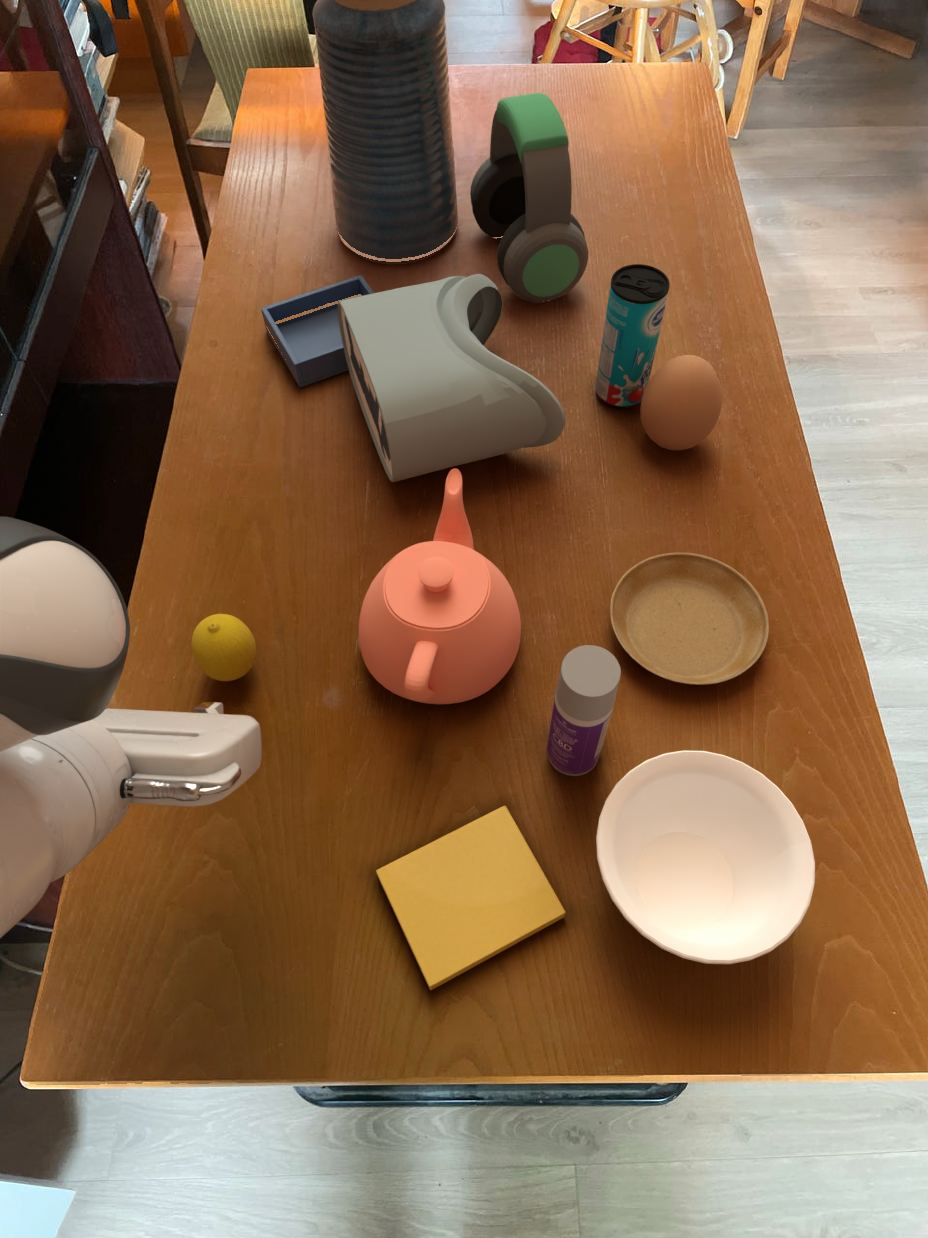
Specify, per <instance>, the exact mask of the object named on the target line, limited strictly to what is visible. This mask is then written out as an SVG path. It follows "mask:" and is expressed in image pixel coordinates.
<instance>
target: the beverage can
mask: <svg viewBox="0 0 928 1238" xmlns="http://www.w3.org/2000/svg"><path fill="white" fill-rule="evenodd" d="M670 284H671V283H670V279H669V278H668V275H666V274H665V273H664V272H663V271H662V270H660V269H659V268H657V267H654V266H651V265H648V264H641V263H635V264H633V263H632V264H627V265H625V266H622V267H620V268H618V269H617V270H615V272H614V273H612V276H611V279H610V287H609V292H608V298H607V306H606V310H605V311H606V313H605V318H604V325H603V330H602V331H603V333H602V339H601V345H600V353H599V359H598V366H597V375H596V380H595V386H594V387H595V392H596V395H597V397H598V398H599V400H600V401H601V402H602V403H603V404H604V405H606V406H608V407H611V408H613V409H624V410H625V409H631V408H634V407H635V406H638V404H641V401H642V397H643V393H644V391H645V388H646V385H647V384H648V382H649V381H650V379H651V373H652V368H653V364H654V361H655V360H654V359H655V355H656V351H657V346H658V342H659V338H660V333H661V328H662V323H663V318H664V315H665V309H666V304H667V300H668V295H669V291H670Z"/></svg>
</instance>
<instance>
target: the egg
mask: <svg viewBox="0 0 928 1238" xmlns="http://www.w3.org/2000/svg"><path fill="white" fill-rule="evenodd" d="M720 382H721V381H720V378H719V377H718V374H717V372H716V370H715V369H714V367H713V365H711V364H710V363H709V362H708V361H707V360H706V359H705V358H703V357H700V356H698V355H693V354H684V355H678V356H675V357H673V358H671V359H669V360H668V361H666V362H664V364H662V365H661V366H660V367H658V369H657V370H656V371H655V373H653V375H652V376H650V378H649V382H648V384H647V385H646V388H645V391H644V393H643V397H642V401H641V402H640V420H641V423H642V427H643V429H644V431H645V433H646V434H647V436H648V437H649V439H650V440H651V441H653V442H654V443H655V444H656V445H658V446H659V447H660V448H662V449H666V450H670V451H685V450H688V449H691V448H694V447H695V446H697V445H698V444H700V443H702V442H703V441H704V440H706V439H707V437H708V436H709V435H711V433H712V432H713V430H714V429H715V427H716V425H717V423H718V421H719V418H720V414H721V411H722V407H723V390H722V386H721V383H720Z"/></svg>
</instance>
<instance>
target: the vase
mask: <svg viewBox="0 0 928 1238" xmlns="http://www.w3.org/2000/svg"><path fill="white" fill-rule="evenodd" d="M312 19H313V25H314V34H315V40H316V41H315V42H316V49H317V51H316V52H317V59H318V69H319V78H320V88H321V97H322V106H323V115H324V121H325V122H324V124H325V132H326V140H327V141H326V142H327V149H328V151H327V152H328V165H329V175H330V182H331V193H332V196H333V197H332V198H333V199H332V201H333V209H334V218H335V227H336V226H337V229H336V231H337V230H338V232H339V234H340V235H341V236H342V238H343V239H344V240H345V241H346V242H347V243H348V244H349V245H350V246H351V247H353V248H355V249H356V250H358V251H360V252H362V253H365V254H368V255H371V256H375V257H377V258H385V259H402V258H408V257H415V256H419V255H422V254H426V253H428V252H430V251H432V250H434V249H436V248H437V247H439V246H440V245H442V244H443V243H444V242H446V241H447V240H448V239H449V238H450V237H451V236H452V235H453V233H454V232H455V230H456V231H457V229H456V227H457V228H458V225H459V215H458V197H457V188H456V187H457V180H456V165H455V149H454V142H453V125H452V124H453V123H452V109H451V106H452V105H451V93H450V91H451V90H450V74H449V63H448V62H449V58H448V57H449V55H448V44H447V42H448V41H447V32H446V31H447V24H446V3H445V1H444V0H316V2H315V3H314V5H313V8H312ZM457 224H458V225H457ZM338 232H337V233H338ZM455 233H456V232H455ZM451 241H452V239H451V240H450V241H449V242H448V243H447V244H446V245H445V246H444V247H443V248H441V249H440V250H438V251H436V252H434V253H432V254H430V255H428V256H425V257H422V258H419V259H415V260H409V261H401V262H386V261H378V260H373V259H369V258H366V257H363V256H361V255H358V254H356V253H355V252H353V251H351V250H350V249H348V250H349V251H351V252H352V253H353V254H355V255H357V256H358V257H360V258H362V259H364V260H367V261H369V262H373V263H376V264H383V265H406V264H412V263H417V262H421V261H424V260H426V259H428V258H430V257H432V256H434V255H436V254H437V253H439V252H441V251H442V250H443V249H444V248H445V247H446V246H447V245H448V244H450V242H451Z"/></svg>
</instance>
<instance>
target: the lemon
mask: <svg viewBox="0 0 928 1238" xmlns="http://www.w3.org/2000/svg"><path fill="white" fill-rule="evenodd" d="M255 640H256V639H255V637H254V635H253V633H252V632H251V630H250V628H249V627H248V626H247V625H246V624H245V623H244V622H243V621H242V620H241V619H240V618H238V617H236V616H234V615H232V614H227V613H215V614H211V615H209V616H207V617H205V618H204V619H202V620H201V621H200V622H199V623H197V625H196V627H195V628H194V630H193V633H192V636H191V653H192V656H193V659H194V662H195V663H196V665H197V666H198V668H199V669H200V670H201V672H203V674H205V675H206V676H208V677H209V678H211V679H213V680H216V681H219V682H233V681H235V680H238V679H240V678H242V677H244V676H245V675H246V674H247V673H248V672H249V671H251V669H252V667H253V665H254V663H255V661H256V657H257V645H256V641H255Z"/></svg>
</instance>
